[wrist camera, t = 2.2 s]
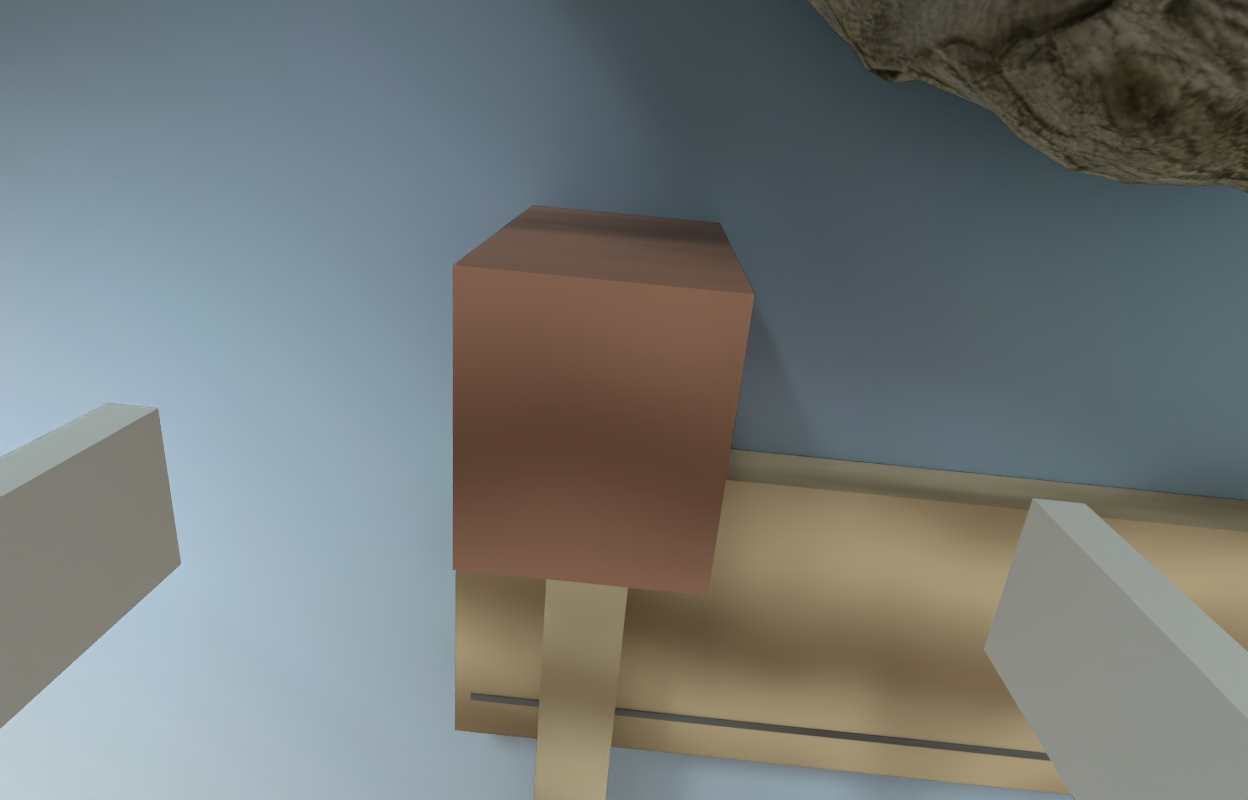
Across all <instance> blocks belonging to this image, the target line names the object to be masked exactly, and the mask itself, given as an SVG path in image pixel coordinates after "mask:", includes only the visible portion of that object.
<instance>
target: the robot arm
mask: <svg viewBox="0 0 1248 800" xmlns="http://www.w3.org/2000/svg"><path fill="white" fill-rule="evenodd" d="M180 564H181V561H180V554H179V547H178V541H177V534H176V527H175V520H174V514H173V507H172V500H171V493H170V487H169V480H168V473H167V467H166V460H165V453H164V446H163V440H162V433H161V426H160V419H159V413H158V408H150V407H141V406H131V405H121V404H111V403H107V404H105V405H103V406H101V407H99V408H97V409H95V410H93V411H91V412H89V413H87V414H85V415H83V416H82V417H80V418H78V419H76V420H74V421H72V422H70V423H68V424H66V425H64V426H62V427H60V428H58V429H56V430H54V431H52V432H50V433H48V434H46V435H44V436H42V437H40V438H38V439H36V440H34V441H32V442H30V443H28V444H26V445H24V446H22V447H20V448H18V449H16V450H14V451H12V452H10V453H8V454H6V455H4V456H2V457H0V728H1V727H3V726H4V725H5V724H6V723H7V722H8V721H9V720H10V719H11V718H12V717H14V716H15V715H16V714H17V713H18V712H19V711H20V710H21V709H22V708H23V707H24V706H26V705H27V704H28V703H29V702H30V701H31V700H32V699H33V698H34V697H35V696H37V695H38V694H39V693H40V692H41V691H42V690H43V689H44V688H45V687H46V686H48V685H49V684H50V683H51V682H52V681H53V680H54V679H55V678H56V677H57V676H59V675H60V674H61V673H62V672H63V671H64V670H65V669H66V668H67V667H68V666H69V665H71V664H72V663H73V662H74V661H75V660H76V659H77V658H78V657H79V656H80V655H82V654H83V653H84V652H85V651H86V650H87V649H88V648H89V647H90V646H91V645H93V644H94V643H95V642H96V641H97V640H98V639H99V638H100V637H101V636H102V635H104V634H105V633H106V632H107V631H108V630H109V629H110V628H111V627H112V626H113V625H114V624H116V623H117V622H118V621H119V620H120V619H121V618H122V617H123V616H124V615H125V614H127V613H128V612H129V611H130V610H131V609H132V608H133V607H134V606H135V605H136V604H138V603H139V602H140V601H141V600H142V599H143V598H144V597H145V596H146V595H147V594H149V593H150V592H151V591H152V590H153V589H154V588H155V587H156V586H157V585H158V584H159V583H161V582H162V581H163V580H164V579H165V578H166V577H167V576H168V575H169V574H170V573H172V572H173V571H174V570H175V569H176V568H177V567H178V566H179V565H180ZM984 651H985V652H986V654H987V656H988V657H989V659H990V661H991V662H992V664H993V666H994V667H995V669H996V671H997V672H998V674H999V676H1000V677H1001V679H1002V681H1003V682H1004V684H1005V686H1006V687H1007V689H1008V691H1009V692H1010V694H1011V695H1012V697H1013V699H1014V700H1015V702H1016V704H1017V705H1018V707H1019V709H1020V710H1021V712H1022V714H1023V715H1024V717H1025V719H1026V720H1027V722H1028V724H1029V725H1030V727H1031V729H1032V730H1033V732H1034V734H1035V735H1036V737H1037V739H1038V740H1039V742H1040V744H1041V745H1042V747H1043V749H1044V750H1045V752H1046V754H1047V755H1048V757H1049V759H1050V760H1051V762H1052V764H1053V765H1054V767H1055V768H1056V770H1057V772H1058V773H1059V775H1060V777H1061V778H1062V780H1063V782H1064V783H1065V785H1066V787H1067V788H1068V790H1069V792H1070V793H1071V795H1072V797H1073V798H1074V800H1248V652H1247V651H1246V650H1245V649H1244V648H1243V647H1242V646H1241V645H1240V644H1239V643H1238V642H1237V641H1235V640H1234V639H1233V638H1232V637H1231V636H1230V635H1229V634H1228V633H1227V632H1226V631H1224V630H1223V629H1222V628H1221V627H1220V626H1219V625H1218V624H1217V623H1216V622H1215V621H1213V620H1212V619H1211V618H1210V617H1209V616H1208V615H1207V614H1206V613H1205V612H1204V611H1202V610H1201V609H1200V608H1199V607H1198V606H1197V605H1196V604H1195V603H1194V602H1193V601H1191V600H1190V599H1189V598H1188V597H1187V596H1186V595H1185V594H1184V593H1183V592H1182V591H1180V590H1179V589H1178V588H1177V587H1176V586H1175V585H1174V584H1173V583H1172V582H1171V581H1170V580H1168V579H1167V578H1166V577H1165V576H1164V575H1163V574H1162V573H1161V572H1160V571H1159V570H1157V569H1156V568H1155V567H1154V566H1153V565H1152V564H1151V563H1150V562H1149V561H1148V560H1146V559H1145V558H1144V557H1143V556H1142V555H1141V554H1140V553H1139V552H1138V551H1137V550H1135V549H1134V548H1133V547H1132V546H1131V545H1130V544H1129V543H1128V542H1127V541H1126V540H1124V539H1123V538H1122V537H1121V536H1120V535H1119V534H1118V533H1117V532H1116V531H1115V530H1113V529H1112V528H1111V527H1110V526H1109V525H1108V524H1107V523H1106V522H1105V521H1104V520H1103V519H1101V518H1100V517H1099V516H1098V515H1097V514H1096V513H1095V512H1094V511H1093V510H1092V509H1090V508H1089V507H1088V506H1087V505H1086V504H1085V503H1075V502H1065V501H1055V500H1046V499H1036V498H1033V499H1032V502H1031V505H1030V508H1029V511H1028V514H1027V517H1026V521H1025V524H1024V527H1023V530H1022V533H1021V536H1020V539H1019V542H1018V545H1017V548H1016V551H1015V555H1014V558H1013V561H1012V564H1011V567H1010V570H1009V573H1008V576H1007V579H1006V582H1005V586H1004V589H1003V592H1002V595H1001V598H1000V601H999V604H998V607H997V610H996V613H995V617H994V620H993V623H992V626H991V629H990V632H989V635H988V638H987V641H986V644H985V648H984Z"/></svg>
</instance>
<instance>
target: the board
mask: <svg viewBox="0 0 1248 800" xmlns="http://www.w3.org/2000/svg"><path fill="white" fill-rule="evenodd" d="M1033 498H1036V499H1046V500H1055V501H1065V502H1075V503H1085V504H1086V505H1087V506H1088V507H1089V508H1090V509H1092V510H1093V511H1094V512H1095V513H1096V514H1097V515H1098V516H1099V517H1100V518H1101V519H1103V520H1104V521H1105V522H1106V523H1107V524H1108V525H1109V526H1110V527H1111V528H1112V529H1113V530H1115V531H1116V532H1117V533H1118V534H1119V535H1120V536H1121V537H1122V538H1123V539H1124V540H1126V541H1127V542H1128V543H1129V544H1130V545H1131V546H1132V547H1133V548H1134V549H1135V550H1137V551H1138V552H1139V553H1140V554H1141V555H1142V556H1143V557H1144V558H1145V559H1146V560H1148V561H1149V562H1150V563H1151V564H1152V565H1153V566H1154V567H1155V568H1156V569H1157V570H1159V571H1160V572H1161V573H1162V574H1163V575H1164V576H1165V577H1166V578H1167V579H1168V580H1170V581H1171V582H1172V583H1173V584H1174V585H1175V586H1176V587H1177V588H1178V589H1179V590H1180V591H1182V592H1183V593H1184V594H1185V595H1186V596H1187V597H1188V598H1189V599H1190V600H1191V601H1193V602H1194V603H1195V604H1196V605H1197V606H1198V607H1199V608H1200V609H1201V610H1202V611H1204V612H1205V613H1206V614H1207V615H1208V616H1209V617H1210V618H1211V619H1212V620H1213V621H1215V622H1216V623H1217V624H1218V625H1219V626H1220V627H1221V628H1222V629H1223V630H1224V631H1226V632H1227V633H1228V634H1229V635H1230V636H1231V637H1232V638H1233V639H1234V640H1235V641H1237V642H1238V643H1239V644H1240V645H1241V646H1242V647H1243V648H1244V649H1245V650H1246V651H1247V652H1248V501H1245V500H1235V499H1225V498H1215V497H1205V496H1195V495H1185V494H1175V493H1165V492H1155V491H1145V490H1135V489H1125V488H1115V487H1105V486H1095V485H1085V484H1075V483H1065V482H1054V481H1044V480H1034V479H1024V478H1014V477H1004V476H994V475H984V474H974V473H964V472H954V471H944V470H934V469H924V468H914V467H904V466H894V465H884V464H874V463H864V462H854V461H844V460H834V459H824V458H814V457H804V456H794V455H784V454H774V453H764V452H754V451H744V450H734V449H731V451H730V457H729V464H728V470H727V477H726V483H725V489H724V496H723V502H722V509H721V515H720V521H719V528H718V534H717V540H716V547H715V553H714V560H713V566H712V572H711V579H710V585H709V592H708V596H706V595H696V594H686V593H676V592H666V591H657V590H647V589H637V588H628V592H627V601H626V610H625V620H624V629H623V638H622V648H621V657H620V666H619V676H618V685H617V695H616V704H615V713H614V723H613V732H612V741H611V746H612V747H621V748H631V749H640V750H650V751H659V752H669V753H678V754H688V755H697V756H707V757H716V758H726V759H735V760H745V761H754V762H764V763H773V764H783V765H792V766H802V767H811V768H821V769H830V770H840V771H849V772H859V773H868V774H878V775H887V776H897V777H906V778H916V779H925V780H935V781H944V782H954V783H963V784H973V785H982V786H992V787H1001V788H1011V789H1020V790H1030V791H1039V792H1049V793H1058V794H1068V795H1071V793H1070V792H1069V790H1068V788H1067V787H1066V785H1065V783H1064V782H1063V780H1062V778H1061V777H1060V775H1059V773H1058V772H1057V770H1056V768H1055V767H1054V765H1053V764H1052V762H1051V760H1050V759H1049V757H1048V755H1047V754H1046V752H1045V750H1044V749H1043V747H1042V745H1041V744H1040V742H1039V740H1038V739H1037V737H1036V735H1035V734H1034V732H1033V730H1032V729H1031V727H1030V725H1029V724H1028V722H1027V720H1026V719H1025V717H1024V715H1023V714H1022V712H1021V710H1020V709H1019V707H1018V705H1017V704H1016V702H1015V700H1014V699H1013V697H1012V695H1011V694H1010V692H1009V691H1008V689H1007V687H1006V686H1005V684H1004V682H1003V681H1002V679H1001V677H1000V676H999V674H998V672H997V671H996V669H995V667H994V666H993V664H992V662H991V661H990V659H989V657H988V656H987V654H986V652H985V651H984V648H985V644H986V641H987V638H988V635H989V632H990V629H991V626H992V623H993V620H994V617H995V613H996V610H997V607H998V604H999V601H1000V598H1001V595H1002V592H1003V589H1004V586H1005V582H1006V579H1007V576H1008V573H1009V570H1010V567H1011V564H1012V561H1013V558H1014V555H1015V551H1016V548H1017V545H1018V542H1019V539H1020V536H1021V533H1022V530H1023V527H1024V524H1025V521H1026V517H1027V514H1028V511H1029V508H1030V505H1031V502H1032V499H1033ZM545 595H546V579H539V578H530V577H520V576H510V575H500V574H490V573H481V572H471V571H461V570H456V646H455V730H460V731H469V732H479V733H488V734H498V735H507V736H517V737H526V738H536V739H537V735H538V718H539V700H540V683H541V665H542V647H543V630H544V612H545Z"/></svg>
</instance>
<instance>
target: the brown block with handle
mask: <svg viewBox="0 0 1248 800" xmlns="http://www.w3.org/2000/svg"><path fill="white" fill-rule="evenodd" d="M754 297H755V293H754V291H753V289H752V287H751V285H750V283H749V281H748V279H747V277H746V275H745V273H744V271H743V269H742V267H741V265H740V263H739V261H738V259H737V257H736V255H735V253H734V251H733V249H732V247H731V245H730V243H729V241H728V239H727V237H726V235H725V233H724V231H723V229H722V227H721V225H720V223H712V222H702V221H691V220H681V219H670V218H660V217H649V216H639V215H628V214H618V213H608V212H597V211H587V210H576V209H566V208H555V207H545V206H535V205H532V206H531V207H530V208H528V209H527V210H526V211H524V212H523V213H522V214H520V215H519V216H518V217H516V218H515V219H514V220H512V221H511V222H510V223H508V224H507V225H506V226H504V227H503V228H502V229H500V230H499V231H498V232H496V233H495V234H494V235H492V236H491V237H490V238H488V239H487V240H486V241H485V242H483V243H482V244H481V245H479V246H478V247H477V248H475V249H474V250H473V251H471V252H470V253H469V254H467V255H466V256H465V257H463V258H462V259H461V260H459V261H458V262H457V263H455V264H454V265H453V570H461V571H471V572H481V573H490V574H500V575H510V576H520V577H530V578H539V579H546V595H545V612H544V630H543V647H542V665H541V683H540V700H539V718H538V735H537V753H536V770H535V788H534V800H605V797H606V788H607V779H608V769H609V760H610V751H611V741H612V732H613V723H614V713H615V704H616V695H617V685H618V676H619V666H620V657H621V648H622V638H623V629H624V620H625V610H626V601H627V592H628V588H637V589H647V590H657V591H666V592H676V593H686V594H696V595H706V596H708V592H709V585H710V579H711V572H712V566H713V560H714V553H715V547H716V540H717V534H718V528H719V521H720V515H721V509H722V502H723V496H724V489H725V483H726V477H727V470H728V464H729V457H730V451H731V445H732V438H733V432H734V425H735V419H736V413H737V406H738V400H739V393H740V387H741V381H742V374H743V368H744V361H745V355H746V349H747V342H748V336H749V329H750V323H751V317H752V310H753V304H754Z"/></svg>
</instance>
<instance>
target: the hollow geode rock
mask: <svg viewBox="0 0 1248 800" xmlns="http://www.w3.org/2000/svg"><path fill="white" fill-rule="evenodd" d="M808 2H809V3H810V4H811V5H812V6H813V7H814V8H815V9H816V10H817V12H818V13H819V14H820V15H821V16H822V17H823V18H824V19H825V20H826V22H827V23H828V24H829V25H830V26H831V27H832V28H833V29H834V30H835V32H836V33H837V34H838V35H839V36H840V37H841V38H842V39H843V40H844V41H845V42H847V43H848V44H850V45H851V46H852V47H853V48H854V49H855V51H856V53H857V54H858V56H859V58H860V59H861V61H862V63H863V64H864V66H865V68H866V69H867V70H868V71H870V72H872V73H874V74H876V75H878V76H880V77H882V78H884V79H886V80H888V81H890V82H892V83H895V82H903V81H910V80H917V79H919V80H921V81H923V82H926V83H928V84H930V85H932V86H935V87H937V88H939V89H941V90H944V91H946V92H949V93H951V94H954V95H956V96H959V97H961V98H963V99H966V100H968V101H971V102H973V103H975V104H977V105H979V106H981V107H983V108H985V109H987V110H989V111H991V112H992V113H994V114H996V115H997V116H998V117H999V118H1000V119H1001V120H1002V121H1003V122H1004V123H1005V124H1006V125H1007V126H1008V127H1009V128H1010V129H1011V131H1012V132H1013V133H1014V134H1015V135H1016V136H1017V137H1018V138H1020V139H1022V140H1023V141H1025V142H1026V143H1028V144H1029V145H1031V146H1032V147H1034V148H1036V149H1037V150H1039V151H1040V152H1042V153H1043V154H1045V155H1046V156H1048V157H1050V158H1051V159H1053V160H1054V161H1056V162H1057V163H1059V164H1061V165H1062V166H1064V167H1065V168H1067V169H1069V170H1073V171H1077V172H1081V173H1085V174H1089V175H1093V176H1098V177H1102V178H1106V179H1110V180H1114V181H1118V182H1122V183H1126V184H1173V185H1184V186H1201V185H1228V186H1231V187H1234V188H1236V189H1239V190H1242V191H1244V192H1247V193H1248V0H808Z"/></svg>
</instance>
